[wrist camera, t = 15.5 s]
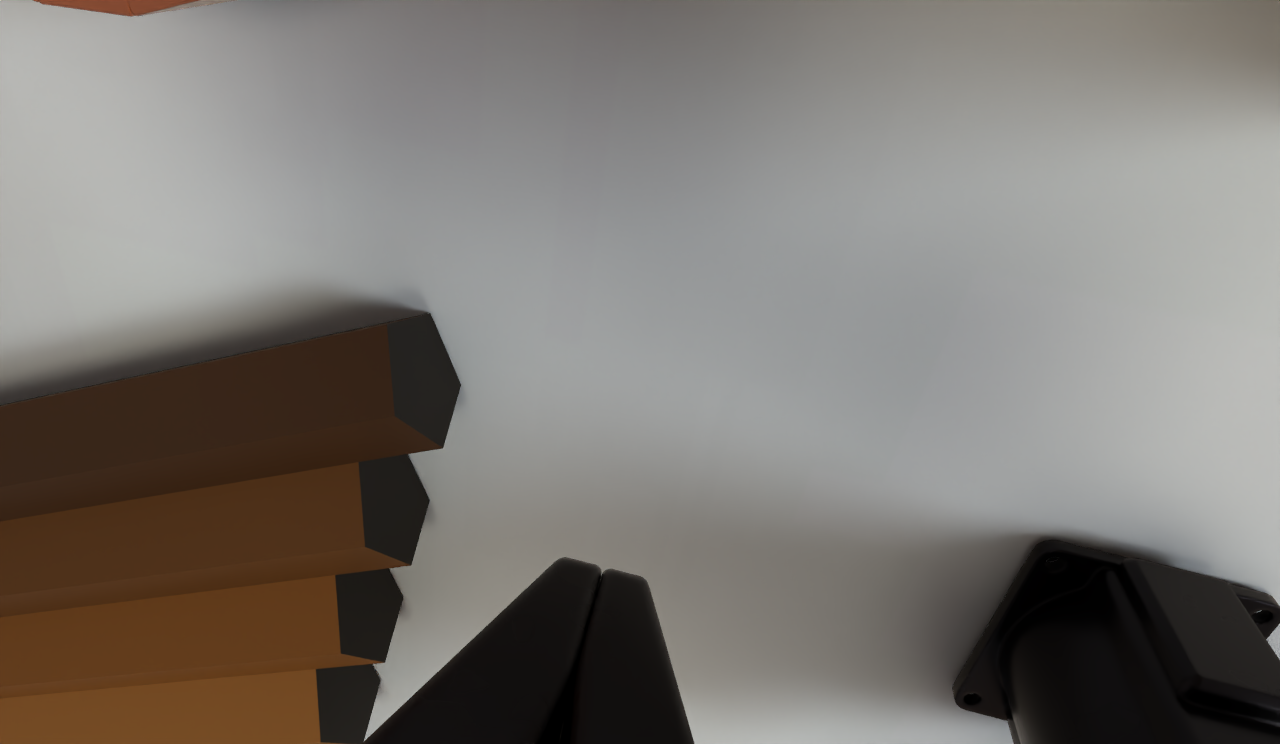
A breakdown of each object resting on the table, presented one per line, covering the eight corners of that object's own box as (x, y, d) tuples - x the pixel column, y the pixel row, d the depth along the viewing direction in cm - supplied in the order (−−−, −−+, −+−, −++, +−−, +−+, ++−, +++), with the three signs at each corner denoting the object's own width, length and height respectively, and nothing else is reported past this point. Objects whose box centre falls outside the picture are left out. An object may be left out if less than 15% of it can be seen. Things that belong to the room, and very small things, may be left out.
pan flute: (420, 289, 21) (-236, 435, 28) (362, 349, 19) (-356, 497, 25) (668, 871, 32) (152, 880, 39) (656, 967, 29) (100, 959, 36)
